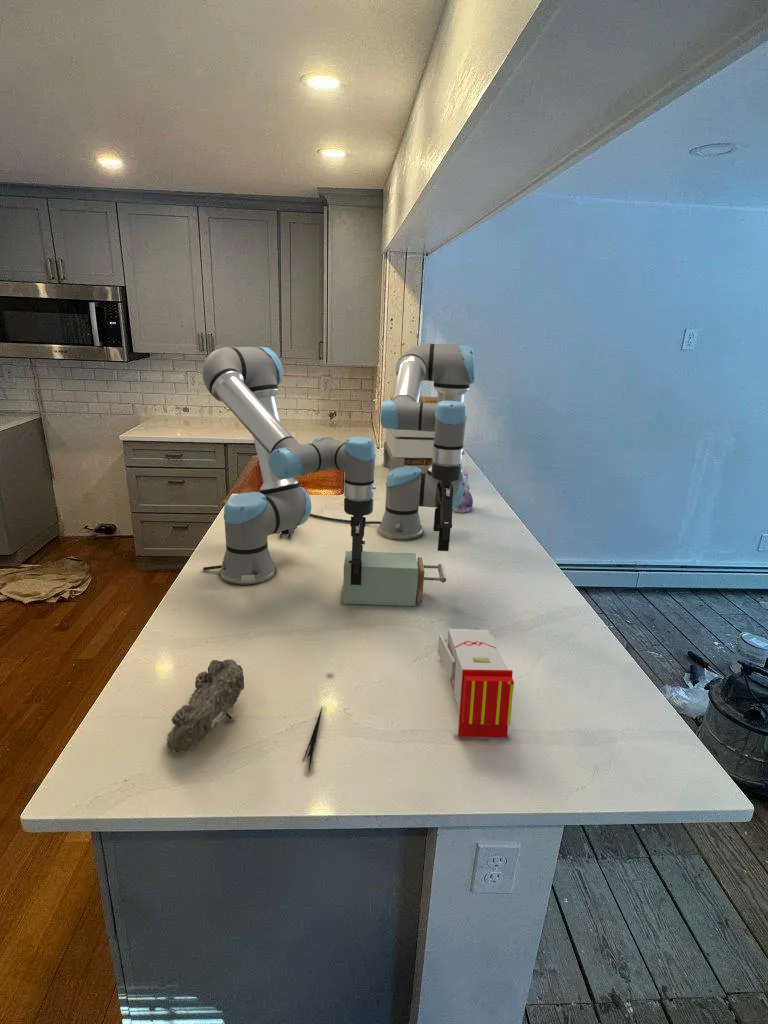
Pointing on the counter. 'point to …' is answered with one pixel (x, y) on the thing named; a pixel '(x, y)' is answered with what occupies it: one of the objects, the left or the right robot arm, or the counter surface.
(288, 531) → the figurine character
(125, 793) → the counter surface
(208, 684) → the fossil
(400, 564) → the cabinet
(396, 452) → the white slatted crate
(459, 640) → the toy
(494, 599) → the counter surface
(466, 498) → the figurine
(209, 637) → the counter surface
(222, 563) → the left robot arm
